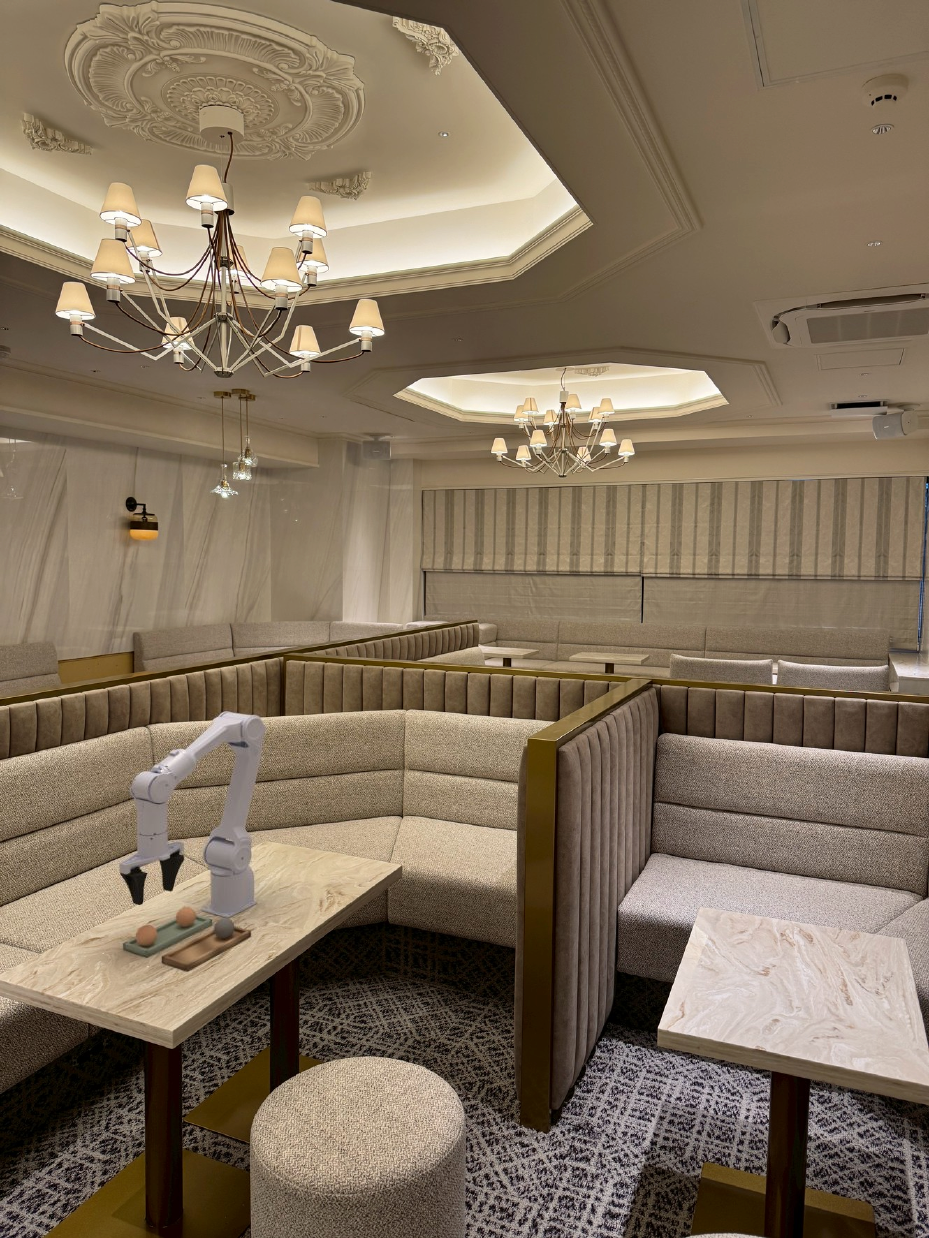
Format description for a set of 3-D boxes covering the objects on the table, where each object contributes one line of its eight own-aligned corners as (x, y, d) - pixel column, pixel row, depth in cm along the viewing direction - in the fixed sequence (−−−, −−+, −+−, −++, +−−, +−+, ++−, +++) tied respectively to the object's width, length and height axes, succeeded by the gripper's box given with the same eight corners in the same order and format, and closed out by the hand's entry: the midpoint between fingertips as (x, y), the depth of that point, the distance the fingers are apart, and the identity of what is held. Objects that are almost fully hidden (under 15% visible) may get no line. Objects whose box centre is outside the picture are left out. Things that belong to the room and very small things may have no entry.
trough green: (188, 917, 177) (188, 912, 177) (212, 924, 173) (212, 919, 173) (123, 949, 162) (122, 943, 162) (147, 957, 159) (147, 951, 158)
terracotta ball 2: (186, 920, 174) (186, 902, 174) (200, 924, 172) (199, 906, 172) (171, 927, 171) (171, 908, 171) (185, 931, 169) (185, 912, 169)
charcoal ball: (224, 931, 169) (224, 913, 169) (238, 936, 167) (238, 917, 167) (209, 939, 166) (209, 920, 165) (224, 943, 164) (224, 924, 163)
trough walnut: (226, 928, 172) (226, 923, 172) (250, 936, 168) (250, 930, 168) (161, 962, 157) (161, 956, 157) (187, 971, 153) (187, 965, 153)
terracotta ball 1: (150, 930, 166) (141, 918, 164) (164, 934, 164) (155, 923, 162) (137, 947, 163) (128, 936, 161) (151, 952, 161) (142, 940, 159)
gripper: (136, 845, 155) (137, 914, 156) (194, 824, 168) (194, 888, 169) (111, 839, 159) (112, 906, 159) (170, 819, 171) (170, 881, 172)
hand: (153, 896), depth 164 cm, fingers open, 7 cm apart
